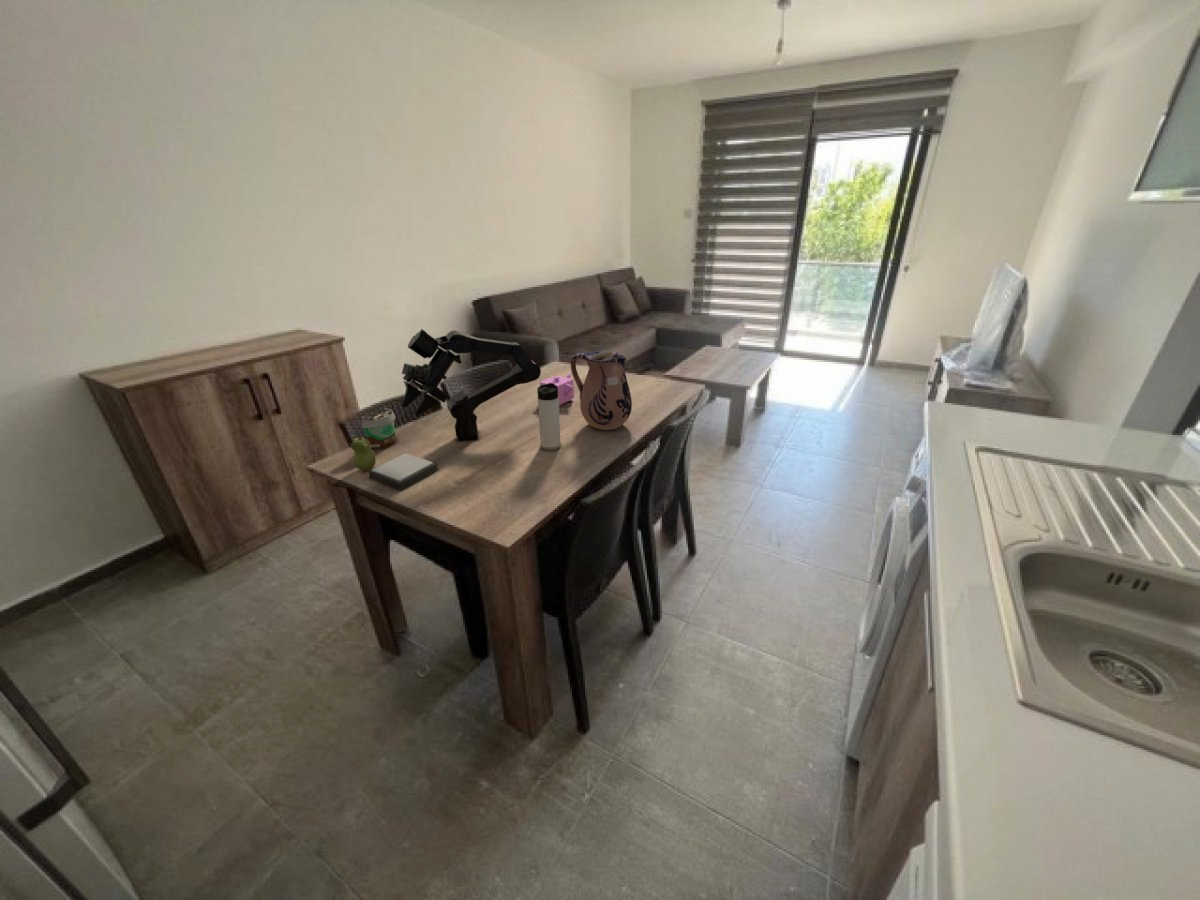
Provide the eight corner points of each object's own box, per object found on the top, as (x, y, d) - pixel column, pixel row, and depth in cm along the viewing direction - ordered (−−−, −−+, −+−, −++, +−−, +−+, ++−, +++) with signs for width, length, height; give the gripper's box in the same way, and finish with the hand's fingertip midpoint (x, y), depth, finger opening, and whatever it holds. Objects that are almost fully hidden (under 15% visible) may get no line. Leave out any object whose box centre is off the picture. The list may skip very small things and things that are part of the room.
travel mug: (564, 443, 154) (561, 383, 145) (555, 452, 148) (552, 390, 139) (546, 440, 156) (542, 381, 147) (537, 449, 150) (533, 388, 141)
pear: (380, 465, 141) (373, 434, 136) (371, 474, 136) (363, 442, 132) (362, 464, 141) (354, 434, 137) (352, 473, 137) (344, 442, 132)
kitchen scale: (407, 459, 144) (405, 451, 143) (437, 469, 138) (436, 461, 137) (369, 478, 134) (367, 470, 133) (400, 490, 128) (398, 481, 127)
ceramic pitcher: (628, 437, 157) (629, 363, 146) (565, 433, 161) (562, 360, 149) (633, 417, 173) (635, 349, 161) (577, 413, 176) (575, 346, 165)
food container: (385, 452, 148) (378, 423, 144) (368, 451, 149) (360, 421, 145) (407, 436, 159) (402, 408, 154) (391, 434, 160) (384, 407, 156)
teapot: (559, 391, 198) (558, 367, 193) (587, 397, 191) (587, 373, 186) (531, 405, 184) (529, 379, 179) (560, 412, 177) (559, 386, 173)
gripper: (403, 346, 145) (374, 389, 143) (430, 359, 133) (399, 406, 131) (432, 366, 153) (405, 407, 151) (460, 379, 141) (431, 424, 139)
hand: (409, 411), depth 143 cm, fingers open, 9 cm apart
